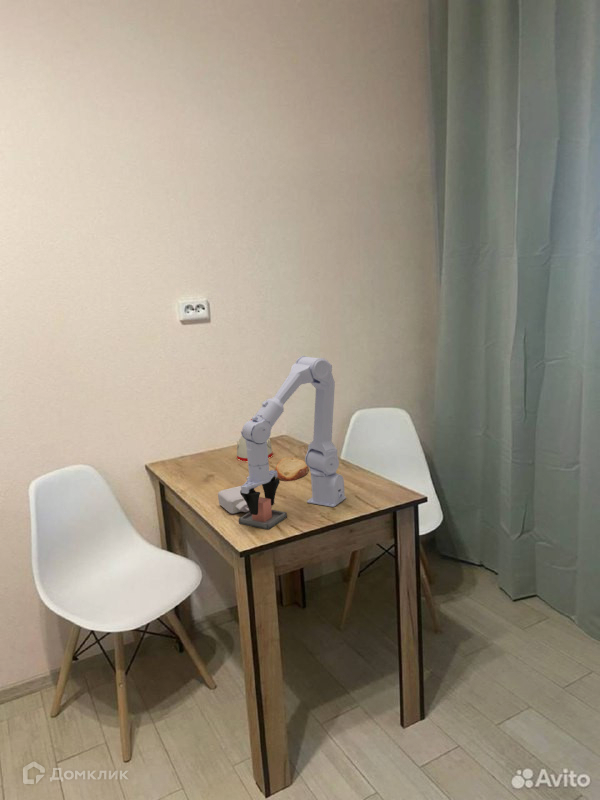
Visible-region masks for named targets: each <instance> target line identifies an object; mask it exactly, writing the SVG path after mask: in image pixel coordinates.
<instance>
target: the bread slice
mask: <svg viewBox="0 0 600 800" xmlns="http://www.w3.org/2000/svg"><path fill="white" fill-rule="evenodd" d="M274 470H275V471H277V476H278V477H277V478H276V479H279V481H282V482H292V481H297V480H299V479H301V478H303V477H305V476H306V475H307V474H308V472H309V471H310V468H309V467H308V466H307V465H306V463H305V460H303V459H300V458H297V457H289V456H288V457H282V458H281V459H280V460H279V461H278V463H277V464H276V466H275V469H274Z"/></svg>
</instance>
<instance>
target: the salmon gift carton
mask: <svg viewBox="0 0 600 800" xmlns="http://www.w3.org/2000/svg"><path fill="white" fill-rule="evenodd" d="M272 510H273V509H272V505H271V499H268V498H265V497H263V496H259V500H258V514H257V515H253V514H252V518H253V520H258V521H263V522H265V521H267V520H268V519H270V518H272Z"/></svg>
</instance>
